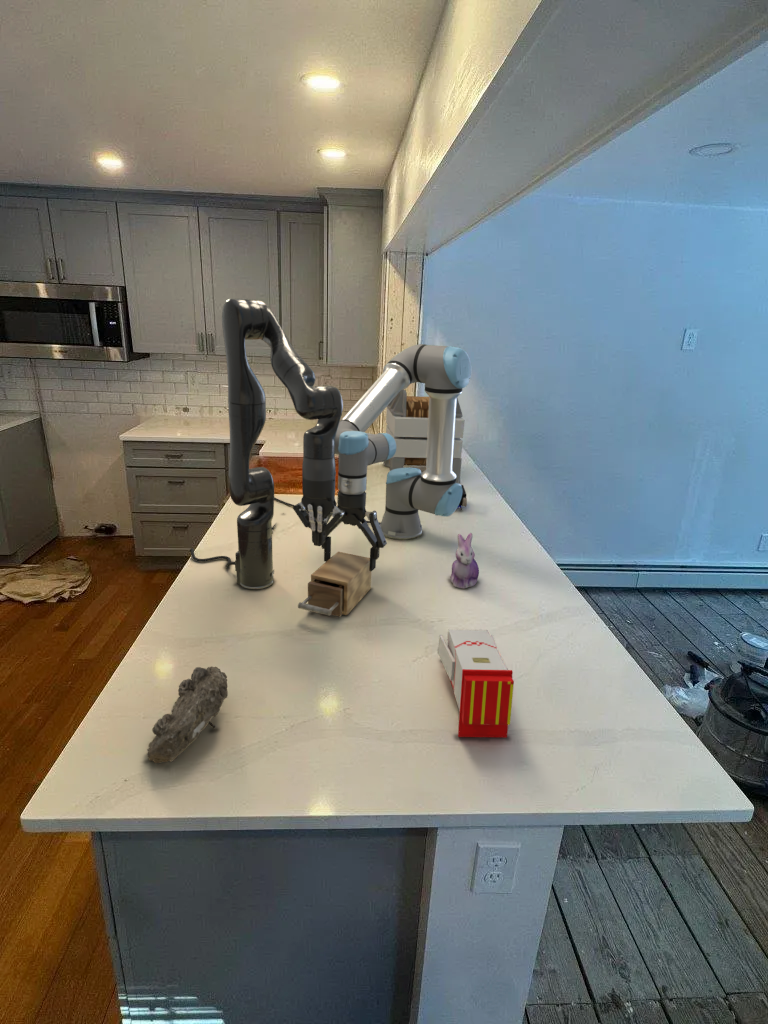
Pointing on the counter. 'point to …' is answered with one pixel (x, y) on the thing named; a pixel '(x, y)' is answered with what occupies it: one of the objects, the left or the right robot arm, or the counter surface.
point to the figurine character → (463, 499)
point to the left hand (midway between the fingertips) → (318, 544)
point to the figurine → (464, 564)
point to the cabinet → (347, 577)
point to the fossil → (189, 713)
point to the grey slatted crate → (416, 432)
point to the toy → (478, 682)
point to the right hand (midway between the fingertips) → (349, 564)
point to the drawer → (324, 598)
